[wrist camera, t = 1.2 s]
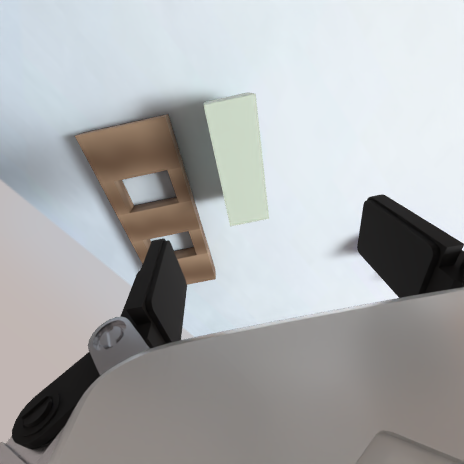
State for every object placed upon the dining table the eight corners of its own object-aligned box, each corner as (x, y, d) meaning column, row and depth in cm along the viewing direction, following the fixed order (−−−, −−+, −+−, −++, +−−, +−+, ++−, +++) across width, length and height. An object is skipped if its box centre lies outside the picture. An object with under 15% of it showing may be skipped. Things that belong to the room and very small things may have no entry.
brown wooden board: (84, 132, 24) (74, 136, 22) (168, 114, 23) (165, 116, 22) (159, 280, 36) (156, 290, 34) (215, 269, 35) (215, 278, 34)
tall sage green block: (204, 100, 23) (203, 105, 17) (243, 91, 23) (255, 93, 17) (226, 197, 29) (230, 226, 23) (256, 191, 29) (269, 218, 23)
